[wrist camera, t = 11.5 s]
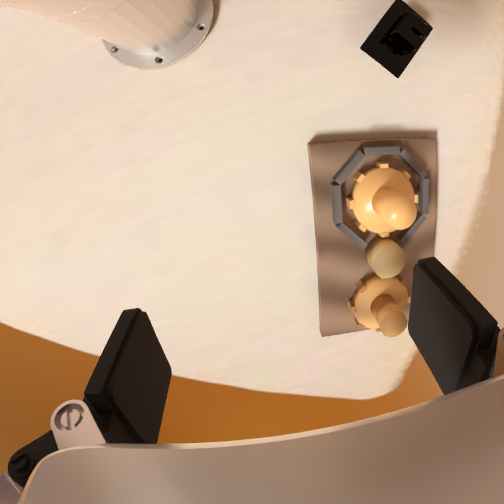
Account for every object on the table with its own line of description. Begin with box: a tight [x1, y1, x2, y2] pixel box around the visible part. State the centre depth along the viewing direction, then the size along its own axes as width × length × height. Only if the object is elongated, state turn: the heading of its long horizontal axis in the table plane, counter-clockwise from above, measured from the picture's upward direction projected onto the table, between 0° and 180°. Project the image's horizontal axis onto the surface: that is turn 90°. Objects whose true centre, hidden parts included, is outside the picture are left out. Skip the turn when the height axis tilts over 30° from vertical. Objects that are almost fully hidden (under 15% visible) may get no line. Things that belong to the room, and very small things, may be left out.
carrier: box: [308, 138, 437, 337], centre depth 34 cm, size 24×15×8 cm, turn 8°
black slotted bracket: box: [360, 0, 433, 78], centre depth 26 cm, size 12×7×5 cm, turn 147°
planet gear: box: [346, 162, 418, 238], centre depth 31 cm, size 8×8×6 cm
